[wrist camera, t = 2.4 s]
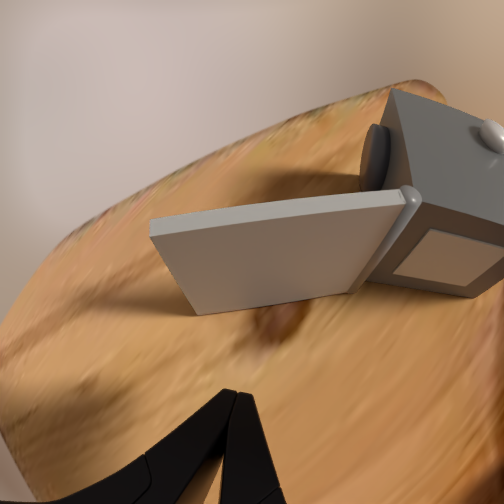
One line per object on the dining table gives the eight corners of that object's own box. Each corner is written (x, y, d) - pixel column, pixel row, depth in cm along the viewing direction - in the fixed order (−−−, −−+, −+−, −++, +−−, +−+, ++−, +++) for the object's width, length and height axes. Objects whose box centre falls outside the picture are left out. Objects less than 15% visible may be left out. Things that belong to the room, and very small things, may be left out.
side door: (354, 272, 17) (411, 178, 9) (360, 292, 16) (426, 205, 9) (195, 296, 16) (150, 207, 9) (198, 317, 16) (149, 241, 8)
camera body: (474, 299, 16) (560, 235, 8) (348, 279, 17) (406, 183, 9) (459, 199, 19) (512, 122, 12) (351, 173, 20) (382, 72, 13)
